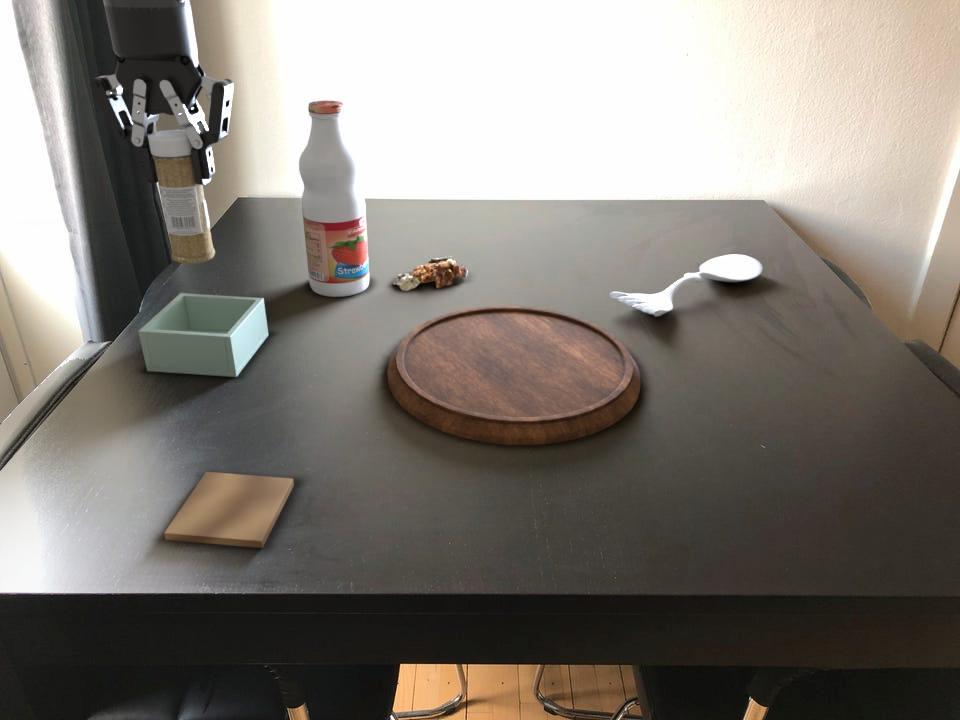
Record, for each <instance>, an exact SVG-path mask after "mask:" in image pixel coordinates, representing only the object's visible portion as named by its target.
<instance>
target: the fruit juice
mask: <svg viewBox="0 0 960 720" xmlns="http://www.w3.org/2000/svg"><path fill="white" fill-rule="evenodd" d="M307 110H308V115H309V116H310V119H311V127H310V133H309V136H308V140H307V144H306V146H305V148H304V149H303V151H302V152H301V154H300V157H299V158H298V159H299V160H298V171H299V175H300V178H301V180H302V184H303V187H304V188H303V192H302V194H301V214H302V221H303V233H304V241H305V251H306V260H307V261H306V262H307V271H308V283H309V286H310V288H311V290H312V291H313V292H314V293H316V294H318V295H321V296H325V297H333V298H336V297H337V298H339V297H340V298H342V297H348V296H353V295H358V294H360V293H362V292H364V291H365V290H366V289H367V288H368V287H369V284H370V265H369V248H368V246H369V245H368V233H367V232H368V231H367V229H368V228H367V209H366V202H365V195H364V192H363V190H362V187H361V178H362V174H363V173H362V172H363V164H362V163H363V162H362V158H361V156H360V154H359V152H358V151H357V150H356V148H355V147H354V146H353V144H352V143H351V141H350V139H349V137H348V134H347V132H346V128H345V125H344V121H343V116H344V114H345V107H344V103H343V102H341V101H338V100H315V101H311V102H309V103H308V109H307Z"/></svg>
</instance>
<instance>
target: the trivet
mask: <svg viewBox="0 0 960 720" xmlns="http://www.w3.org/2000/svg"><path fill="white" fill-rule="evenodd" d="M294 486H295V483H294V478H290V477H280V476H279V477H277V476H267V475H266V476H265V475H253V474H252V475H251V474H239V473H238V474H237V473H229V472H228V473H226V472H214V471H213V472H212V471H205V472H204V473H203V475H202V477H201V478H200V479H199V481H198V483H197V484H196V486H195V487H194V488H193V490H192V491H191V493H190V494H189V496H188V497H187V498H186V500H185V502H184V503H183V505H182V506H181V508H180V509H179V510H178V512H176V514H175V516H174V518H173V519H172V521H171V522H170V523H169V525H168V526H167V528H166V529H165V530H164V533H163V535H164V539H165V541H173V542H174V541H176V542H187V543H199V544H210V545H211V544H212V545H221V546H222V545H223V546H234V547H246V548H257V549H258V548H259V549H263V548H264V546H265V544H266V542H267V540H268V538H269V536H270V534H271V532H272V530H273V528H274V526H275V524H276V521H278V518H279V516H280V514H281V512H282V510H283V508H284V507H285V504H286V502H287V500H288V498H289V496H290V494H291V492H292V491H293V488H294Z"/></svg>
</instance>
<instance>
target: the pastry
mask: <svg viewBox="0 0 960 720" xmlns="http://www.w3.org/2000/svg"><path fill="white" fill-rule="evenodd" d="M468 273H469V271H468V269H467V268H466V265H465V264H461V267H460V266H459V263H458V261H457V260H455V258H454V256H452V255H449V256H442V257H440V258H437V257H433V258H431V259H430V260H429V261H428V262H427V264H423V265H417V266H416V267H414V268H413V270H412V271H411V272H410V273H406V272H402V273H399V274H398V275H397V278H396V279H395V281H394V282H393V285H397V286H398V287H399V288H400V290H401V291H403V292H404V291H405V292H407V291H408V292H409V291H410V290H412V289H416V288H417V287H418V285H419V284H421V283H422V284H425V283H426V284H427V283H430V282H435V286H436V289H441V288H443V287H445V286H446V287H447V286H451V285H453V282H454V278H456V277H458V276H460V277H461V278H462V279H464V278H467V276H468Z"/></svg>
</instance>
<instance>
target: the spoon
mask: <svg viewBox="0 0 960 720" xmlns="http://www.w3.org/2000/svg"><path fill="white" fill-rule="evenodd" d="M763 269H764V268H763V264H762V263H761V262H760V261H759V260H758V259H756V258H754V257H752V256H749V255H745V254H725V255H721V256H717V257H714V258H711V259H708V260H707V261H705V262H704V263H702V264H701V265H700V266H699V271H698V272H686V273H685V274H684V275H683V277H681V278H680V279H678V280H677V281H675V282H674V283H673V284H670V286H669V287H667V288H666V289H665V290H664V289H663V291H661V292H658V293H652V294H648V293H647V294H646V293H625V292H621V291H612V292H610V293H609V298H610V299H616V301H618V302H619V303H623V304H624V305H625V306H629V307H632V308H633V309H634V310H636V311H641V312H642V313H645V314H648V315H653V317H661V316H662V315H665V314H666V313H668V312H670V311H672V310H673V309H674V305H673V300H674V298H675V296H676V294H677V293H678V292H679V291H680V290H681V288H683V287H685V286H687V285H689V284H693V283H702V282H703V280H704V279H709V280H714V281H719V282H724V283H743V282H747V281H751V280H752V279H755V278H757V277H758V276H760V275H761V273H762V272H763Z"/></svg>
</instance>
